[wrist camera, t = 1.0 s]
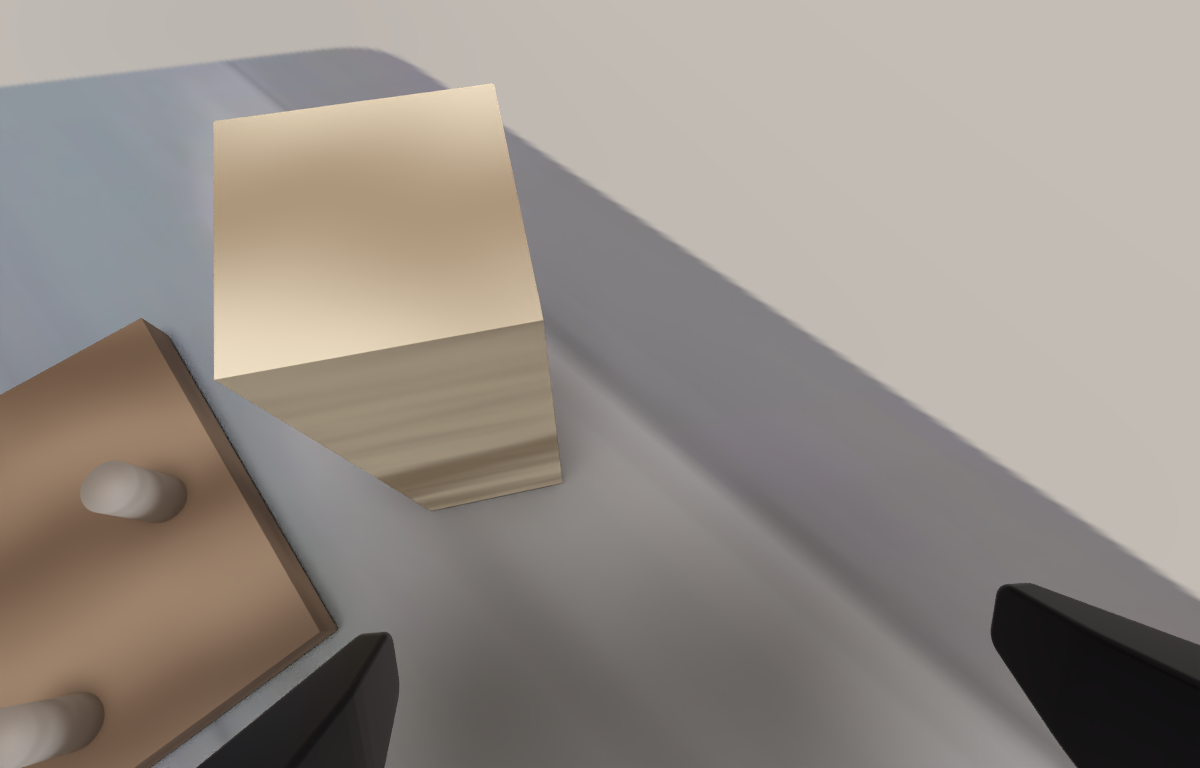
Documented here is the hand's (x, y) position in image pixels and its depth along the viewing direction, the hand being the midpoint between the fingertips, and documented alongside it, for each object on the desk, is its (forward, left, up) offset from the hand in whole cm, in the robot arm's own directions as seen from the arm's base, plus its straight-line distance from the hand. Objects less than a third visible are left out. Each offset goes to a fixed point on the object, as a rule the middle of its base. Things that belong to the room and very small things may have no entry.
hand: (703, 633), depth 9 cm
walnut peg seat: (-9, +18, -13) cm, 24 cm away
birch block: (+3, +8, -13) cm, 16 cm away
